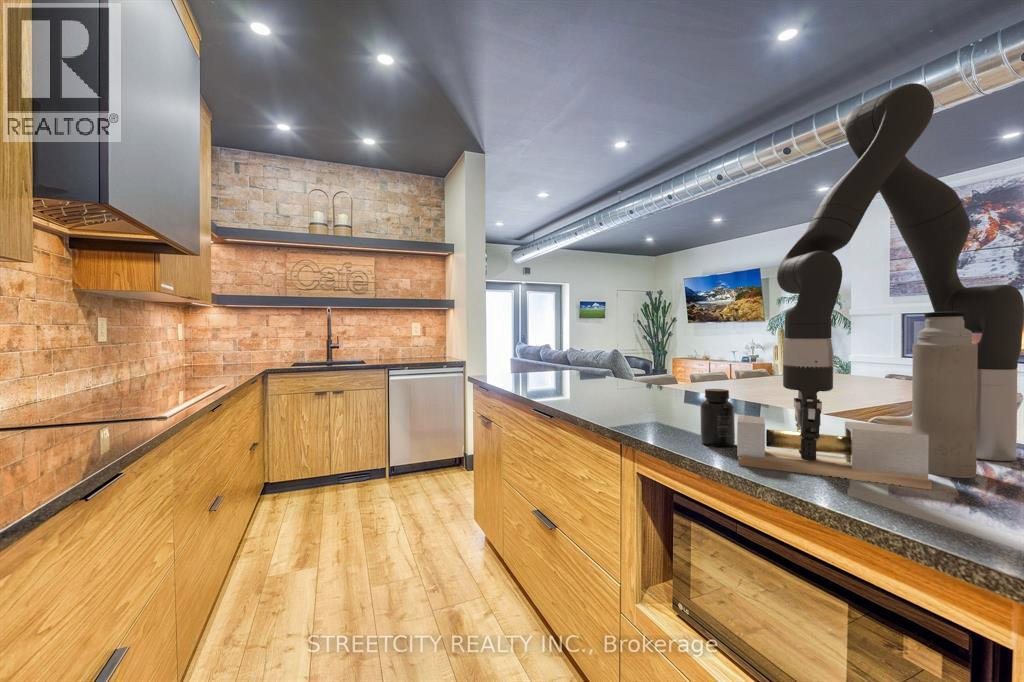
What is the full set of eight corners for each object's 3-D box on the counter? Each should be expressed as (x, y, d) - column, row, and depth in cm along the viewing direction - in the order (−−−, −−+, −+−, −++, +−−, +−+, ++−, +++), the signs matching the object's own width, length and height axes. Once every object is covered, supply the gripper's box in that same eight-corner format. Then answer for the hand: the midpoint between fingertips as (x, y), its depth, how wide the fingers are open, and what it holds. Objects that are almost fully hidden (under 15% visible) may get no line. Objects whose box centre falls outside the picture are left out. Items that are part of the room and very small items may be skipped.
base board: (739, 451, 88) (739, 446, 88) (910, 471, 75) (910, 464, 75) (738, 465, 79) (738, 458, 79) (931, 489, 66) (931, 482, 66)
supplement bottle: (736, 442, 95) (736, 388, 95) (733, 449, 90) (733, 392, 89) (702, 438, 99) (702, 387, 99) (698, 445, 93) (698, 390, 93)
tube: (872, 455, 75) (872, 437, 75) (876, 460, 72) (877, 441, 72) (766, 444, 83) (766, 427, 82) (766, 448, 80) (766, 431, 80)
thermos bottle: (951, 464, 78) (952, 312, 78) (990, 479, 70) (992, 310, 70) (900, 462, 80) (901, 313, 79) (933, 476, 72) (935, 311, 71)
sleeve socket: (738, 447, 86) (738, 413, 86) (914, 466, 73) (914, 426, 73) (737, 456, 81) (737, 419, 80) (928, 478, 67) (928, 435, 67)
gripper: (840, 366, 70) (839, 471, 70) (826, 361, 82) (826, 450, 82) (785, 365, 73) (785, 464, 74) (780, 360, 86) (780, 445, 86)
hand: (807, 456), depth 78 cm, fingers closed on tube, 3 cm apart
